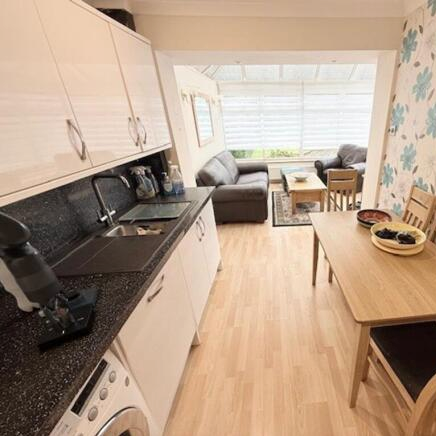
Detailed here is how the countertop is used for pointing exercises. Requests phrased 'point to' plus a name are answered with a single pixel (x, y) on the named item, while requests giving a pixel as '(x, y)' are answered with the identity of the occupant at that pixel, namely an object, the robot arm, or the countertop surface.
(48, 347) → the dial panel
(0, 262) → the water bottle
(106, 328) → the countertop surface
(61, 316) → the knob
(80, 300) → the button box
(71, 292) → the button
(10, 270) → the robot arm
